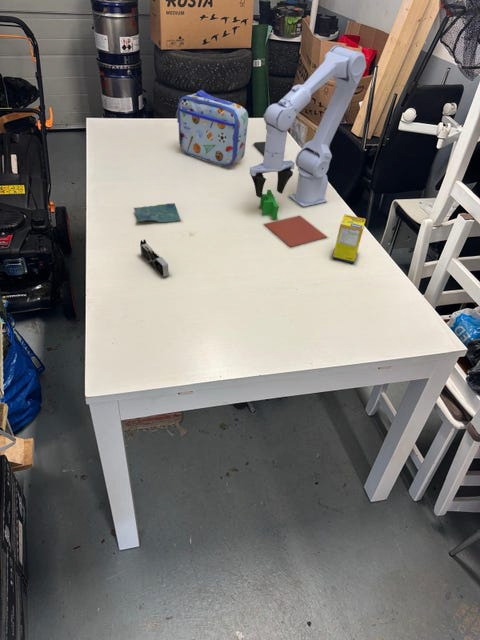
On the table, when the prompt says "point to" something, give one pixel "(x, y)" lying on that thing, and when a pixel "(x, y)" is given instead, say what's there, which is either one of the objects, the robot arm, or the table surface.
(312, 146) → the robot arm
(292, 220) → the napkin
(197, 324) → the table surface
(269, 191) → the pipe clamp
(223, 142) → the lunch box
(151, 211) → the terrain model
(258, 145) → the phone
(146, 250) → the graphics card
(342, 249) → the supplement box
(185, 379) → the table surface
